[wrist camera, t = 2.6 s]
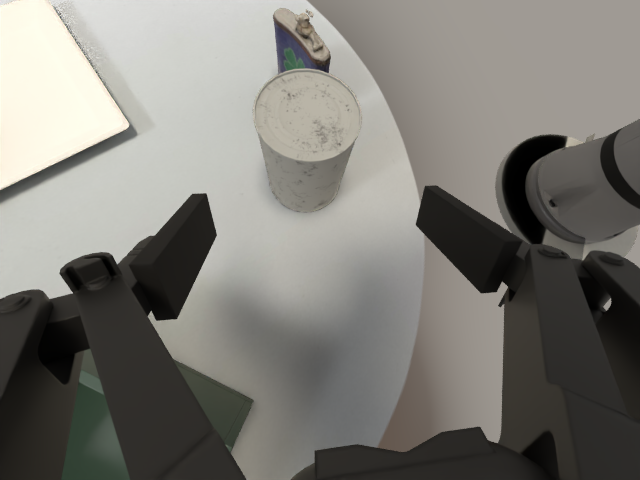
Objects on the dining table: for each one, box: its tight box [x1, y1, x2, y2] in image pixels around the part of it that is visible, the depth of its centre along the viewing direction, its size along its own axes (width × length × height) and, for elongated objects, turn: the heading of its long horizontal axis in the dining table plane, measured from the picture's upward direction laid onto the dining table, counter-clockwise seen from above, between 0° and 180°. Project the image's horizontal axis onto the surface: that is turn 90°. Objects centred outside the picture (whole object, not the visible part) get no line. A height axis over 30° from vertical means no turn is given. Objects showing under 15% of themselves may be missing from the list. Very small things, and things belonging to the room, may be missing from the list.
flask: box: [273, 8, 331, 74], centre depth 31 cm, size 9×3×11 cm, turn 40°
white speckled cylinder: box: [253, 69, 362, 212], centre depth 27 cm, size 10×10×12 cm
